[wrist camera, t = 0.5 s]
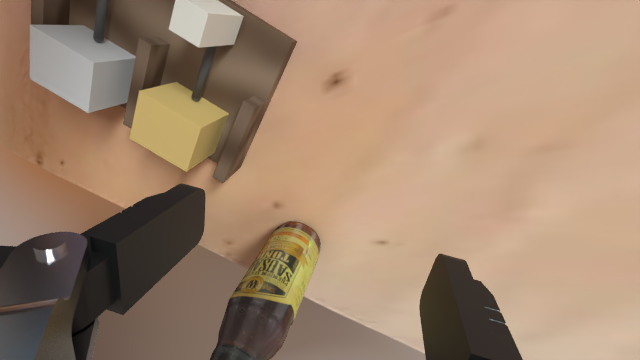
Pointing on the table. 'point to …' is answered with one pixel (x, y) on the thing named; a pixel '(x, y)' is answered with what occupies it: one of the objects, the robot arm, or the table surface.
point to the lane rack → (189, 63)
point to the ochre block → (187, 90)
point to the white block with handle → (81, 63)
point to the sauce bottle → (269, 295)
